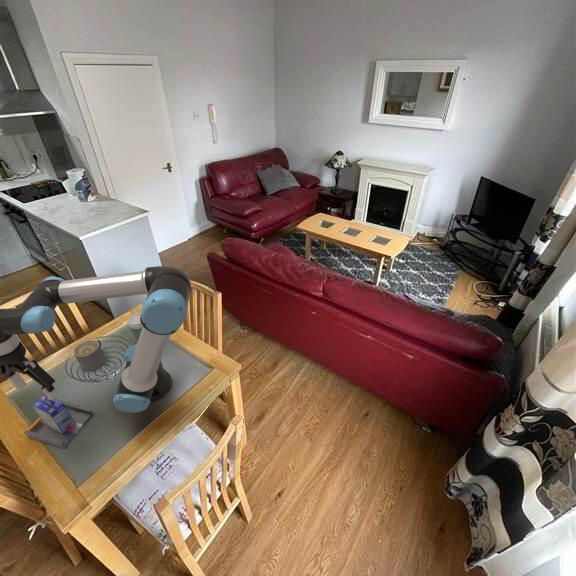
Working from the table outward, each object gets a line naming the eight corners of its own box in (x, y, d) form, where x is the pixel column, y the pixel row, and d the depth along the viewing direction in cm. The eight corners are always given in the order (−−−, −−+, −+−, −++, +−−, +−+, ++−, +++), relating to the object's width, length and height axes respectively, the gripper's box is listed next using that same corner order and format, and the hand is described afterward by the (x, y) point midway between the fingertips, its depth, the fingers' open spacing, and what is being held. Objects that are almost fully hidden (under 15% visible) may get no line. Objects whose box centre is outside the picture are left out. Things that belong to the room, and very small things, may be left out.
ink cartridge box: (77, 422, 115) (61, 399, 106) (63, 435, 111) (46, 412, 102) (59, 412, 118) (42, 389, 109) (45, 424, 114) (26, 401, 105)
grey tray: (94, 413, 119) (91, 409, 117) (64, 448, 108) (60, 444, 106) (60, 404, 122) (57, 399, 120) (27, 437, 111) (24, 432, 109)
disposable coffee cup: (129, 346, 148) (120, 323, 140) (142, 331, 157) (135, 308, 148) (149, 350, 147) (141, 327, 138) (161, 334, 155) (154, 312, 147)
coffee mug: (96, 373, 135) (88, 358, 129) (76, 369, 136) (67, 354, 130) (115, 351, 145) (108, 336, 140) (96, 348, 147) (89, 333, 141)
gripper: (50, 346, 91) (76, 390, 104) (-14, 331, 96) (19, 375, 108) (26, 365, 85) (58, 409, 98) (-40, 348, 90) (-2, 392, 102)
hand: (38, 391), depth 103 cm, fingers open, 12 cm apart
